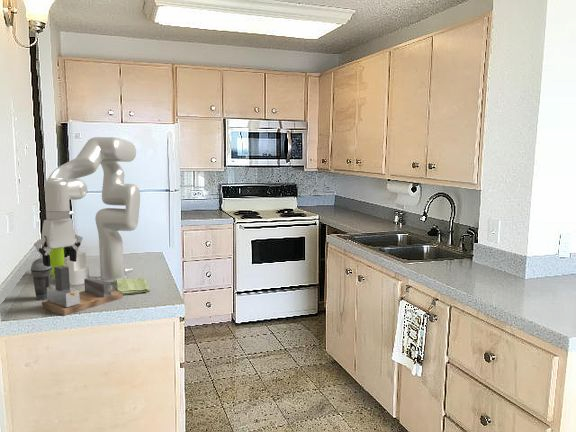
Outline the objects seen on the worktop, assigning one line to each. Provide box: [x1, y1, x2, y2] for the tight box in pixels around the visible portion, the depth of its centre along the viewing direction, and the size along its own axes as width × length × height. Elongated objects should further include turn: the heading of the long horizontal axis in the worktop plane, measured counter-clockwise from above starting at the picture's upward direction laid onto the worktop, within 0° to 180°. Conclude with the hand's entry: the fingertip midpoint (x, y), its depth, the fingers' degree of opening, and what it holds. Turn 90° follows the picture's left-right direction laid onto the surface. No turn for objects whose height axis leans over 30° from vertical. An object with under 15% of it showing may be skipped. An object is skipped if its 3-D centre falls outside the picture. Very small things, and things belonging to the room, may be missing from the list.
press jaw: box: [46, 265, 80, 307], centre depth 171 cm, size 5×13×13 cm, turn 56°
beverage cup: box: [30, 253, 52, 301], centre depth 182 cm, size 7×7×20 cm
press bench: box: [41, 277, 124, 316], centre depth 178 cm, size 24×14×7 cm, turn 146°
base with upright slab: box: [66, 251, 90, 286], centre depth 205 cm, size 9×9×12 cm
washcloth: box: [113, 277, 151, 296], centre depth 197 cm, size 13×18×3 cm
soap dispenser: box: [49, 247, 66, 277], centre depth 216 cm, size 6×7×20 cm
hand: (60, 263), depth 169 cm, fingers open, 9 cm apart
